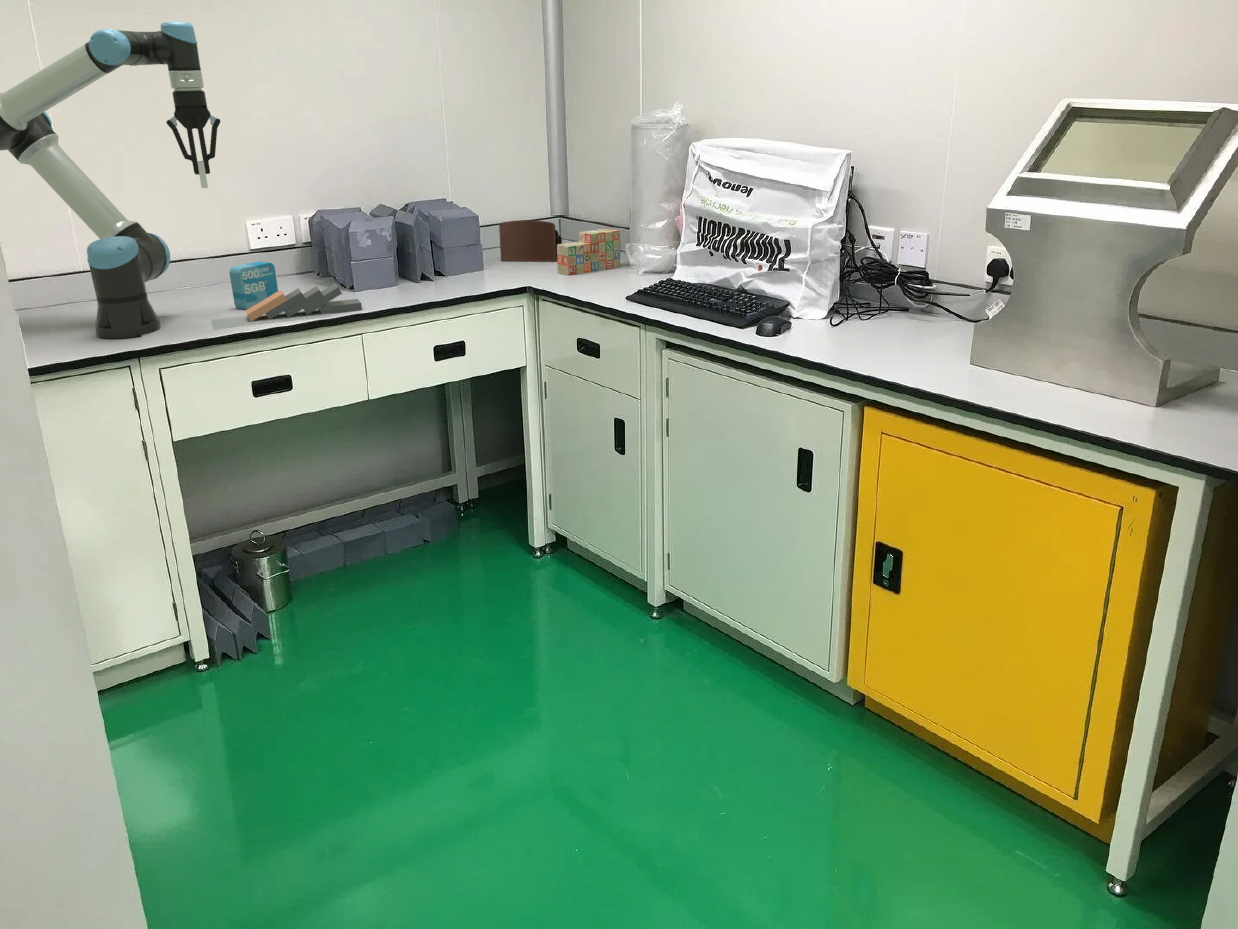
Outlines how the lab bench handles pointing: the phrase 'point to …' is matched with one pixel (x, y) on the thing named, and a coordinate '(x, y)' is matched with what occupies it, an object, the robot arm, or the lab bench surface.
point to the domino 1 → (265, 305)
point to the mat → (264, 319)
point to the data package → (252, 283)
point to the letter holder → (528, 241)
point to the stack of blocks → (590, 252)
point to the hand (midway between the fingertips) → (204, 187)
